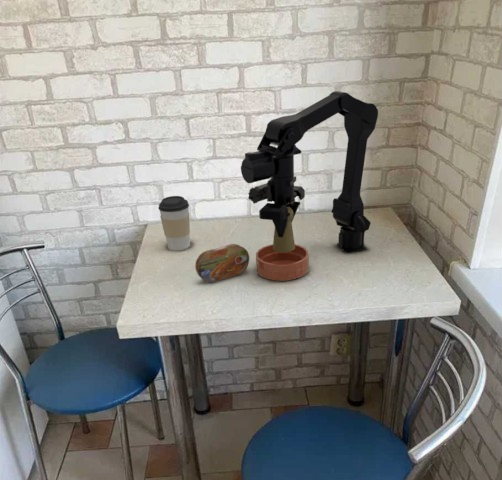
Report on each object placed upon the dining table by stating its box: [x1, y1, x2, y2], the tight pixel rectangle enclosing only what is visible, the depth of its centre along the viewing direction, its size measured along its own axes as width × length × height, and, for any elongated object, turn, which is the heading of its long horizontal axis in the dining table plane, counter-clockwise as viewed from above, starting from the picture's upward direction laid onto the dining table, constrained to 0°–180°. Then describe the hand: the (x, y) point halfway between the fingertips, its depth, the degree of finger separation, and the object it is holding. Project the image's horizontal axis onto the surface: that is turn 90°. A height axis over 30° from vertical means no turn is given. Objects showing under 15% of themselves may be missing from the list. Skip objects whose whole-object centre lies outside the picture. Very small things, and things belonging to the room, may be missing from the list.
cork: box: [272, 207, 296, 252], centre depth 139 cm, size 6×6×11 cm
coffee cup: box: [158, 195, 191, 251], centre depth 160 cm, size 9×9×15 cm
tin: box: [194, 243, 250, 283], centre depth 142 cm, size 15×3×8 cm, turn 118°
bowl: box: [255, 243, 310, 282], centre depth 144 cm, size 14×14×5 cm
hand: (283, 233), depth 140 cm, fingers closed on cork, 4 cm apart
